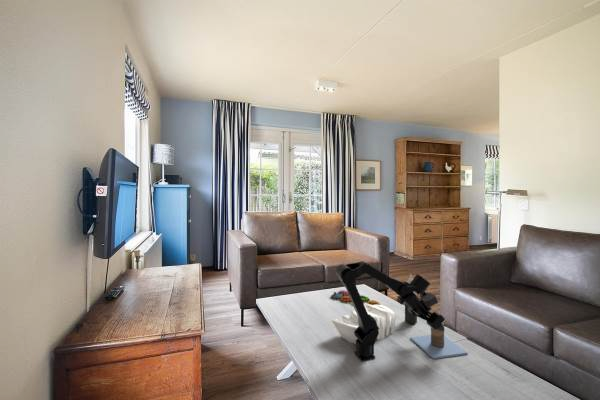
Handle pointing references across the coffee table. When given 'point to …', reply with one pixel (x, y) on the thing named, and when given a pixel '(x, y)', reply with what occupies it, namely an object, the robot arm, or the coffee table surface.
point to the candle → (408, 315)
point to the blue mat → (434, 352)
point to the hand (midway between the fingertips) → (436, 325)
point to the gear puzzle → (345, 298)
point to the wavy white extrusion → (378, 312)
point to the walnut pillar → (437, 337)
